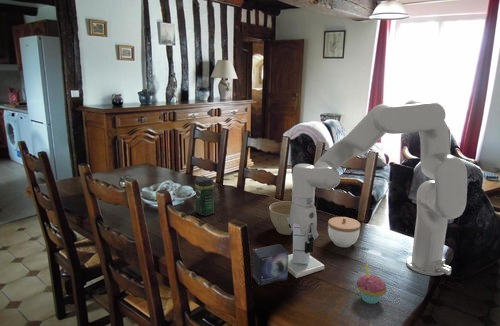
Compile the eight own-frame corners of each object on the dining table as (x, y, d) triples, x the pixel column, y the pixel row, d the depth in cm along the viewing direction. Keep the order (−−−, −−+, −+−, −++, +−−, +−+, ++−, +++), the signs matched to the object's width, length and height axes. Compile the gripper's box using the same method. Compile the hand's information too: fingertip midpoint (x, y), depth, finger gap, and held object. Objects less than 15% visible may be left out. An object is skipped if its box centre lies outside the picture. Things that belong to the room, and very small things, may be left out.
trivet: (324, 269, 123) (324, 264, 123) (296, 278, 117) (296, 273, 117) (303, 254, 133) (303, 250, 133) (276, 262, 128) (277, 257, 127)
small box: (259, 287, 112) (260, 257, 110) (251, 277, 118) (251, 248, 116) (288, 280, 116) (289, 251, 114) (279, 270, 122) (280, 243, 120)
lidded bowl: (357, 252, 135) (359, 226, 132) (324, 247, 139) (326, 221, 137) (359, 239, 146) (361, 214, 144) (329, 234, 151) (330, 210, 148)
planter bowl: (271, 222, 164) (271, 200, 161) (306, 225, 161) (307, 202, 158) (266, 236, 148) (266, 212, 146) (304, 240, 145) (305, 215, 143)
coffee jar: (216, 214, 173) (216, 178, 169) (202, 217, 169) (201, 180, 164) (207, 208, 181) (206, 173, 177) (193, 211, 176) (192, 176, 172)
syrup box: (309, 264, 122) (310, 225, 118) (291, 263, 123) (293, 224, 119) (309, 256, 127) (311, 219, 124) (293, 255, 128) (294, 218, 125)
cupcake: (354, 303, 104) (357, 267, 101) (356, 288, 112) (359, 254, 109) (385, 310, 101) (389, 273, 98) (385, 294, 109) (388, 259, 106)
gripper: (328, 206, 114) (325, 255, 118) (296, 191, 129) (295, 235, 133) (310, 210, 110) (308, 260, 115) (279, 194, 125) (278, 239, 129)
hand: (301, 246), depth 124 cm, fingers closed on syrup box, 7 cm apart
